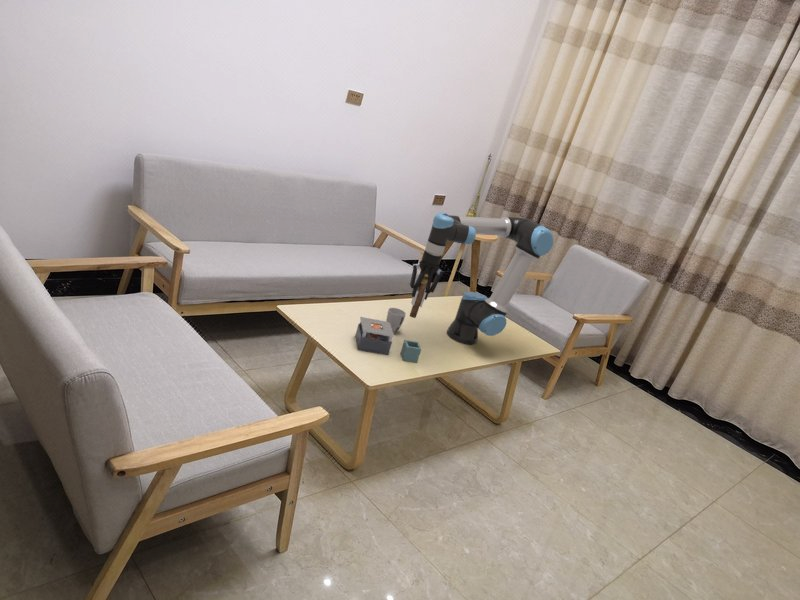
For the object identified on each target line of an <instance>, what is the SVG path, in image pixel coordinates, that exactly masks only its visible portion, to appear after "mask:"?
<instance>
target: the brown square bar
mask: <svg viewBox="0 0 800 600" xmlns="http://www.w3.org/2000/svg"><path fill="white" fill-rule="evenodd" d="M428 279H429V278H428V276H424V277H423V279H422V281H421V283H420V285H419V287H418V291H419V292H418V295H417V298H416V301H415V304H414V305H411V306H412V307H411V310H410V312H409V317H410V318H413V319H416V318H417V314H418V312H419V309H420V303H421V300H422V297H423V294H424V291H425V289H426V285H427V283H428Z"/></svg>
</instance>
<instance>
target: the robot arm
mask: <svg viewBox="0 0 800 600" xmlns="http://www.w3.org/2000/svg"><path fill="white" fill-rule="evenodd" d="M431 225H432V226H431V229H430V233H429V235H428V238H427V242H426V245H425V248H424V250H423V254H422V257H421V260H420V261H419V263H412V274H411V277H410V283H409V286H410V288H411V289H412V291H411V297H412V299H411V302H410V303H411V306H413V305H414V304H415V301H416V298H417V295H418V292H419V291H418V288H419V285H420V283H421V281H422V279H423V277H424V276H425V275H427V277H428V278H429V279H428V283H427V285H426V288H425V291H424V294H423V297H422V300H421V303H420V306H419V308H422V307H423V305H424V301H426V300H427V299H428V297H429V294H432V293H434V292H435V291H436V288H437V285H438V283H439V282H440V279H441V277H442V276H443V275H444V271H443V270H442V269H441V268H440V263H441V260H442V257H443V255H444V253H445V252H444V251H445V249H446V247H447V246H446V245H447V243H448V242H451V243H456V244H463V245H471V244H473V243H474V241H475V239H476V236H477V235H482V236H483V235H484V236H499V237H501V238H502V239H509V240H511V241H513V242H516V245H515V246H514V248H515V253H514V255H513V257H512V258H511V260H510V262H509V264H508V266H507V267H506V269H505V271H504V272H503V274H502V276H501V277H500V279H499V281H498V283H497V284H496V286H495V288H494V290H493V292H492V293H491V295H490V297H487V295H484V294H482V293H480V292H474V291H465V292H464V293H463V295H462V297H461V300H460V302H459V306H458V309H457V311H456V314H455V318H454V320H453V321H452V322H451V323H450V325H449V326H448V327H447V330H446V335H447V336H448V337H450V338H451V339H452V340H454V341H456V342H459V343H462V344H466V345H474V344H476V343H477V342H478V339H479V338H478V336H479V335H478V334H479V331H480V332H481V333H484V335H486V336H490V337H491V336H496V335H498V334H500V333H502V332H503V330H504V329H505V328H506V326H507V324H508V323H507V319H506V316H507V314H508V309H507V308H508V305H509V304H510V302H511V300H512V299H513V297H514V295H515V293H516V292H517V290H518V288H519V286H520V284H521V283H522V281H523V279H524V278H525V276H526V274H527V272H528V271H529V270H530V267H531V266H532V264H533V262H534V261H537V260H539V259H540V258H541V256H545V255H546V254H548V253H549V252H550V251H551V250H552V249H553V248H552V247H553V245H554V239H555V238H554V234H553V232H552V231H551V230H550V229H548V228H547V227H546V226H544V225H541V224H539V223H537V222H535V221H534V220H531V219H529V218H526V217H518V216H502V217H501V218H497V217H496V218H495V217H480V216H479V217H478V216H464V215H463V216H462V215H450V214H448V213H445V212H442V211H441V212H438V213H437V214H436V215H435V216H433V221H432V224H431ZM419 269H420V271H419V274H418V270H419ZM435 273H436V274H435ZM417 274H418V277H417ZM434 274H435V276H434ZM433 276H434V277H433ZM416 278H417V279H416ZM432 280H433V281H432Z"/></svg>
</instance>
